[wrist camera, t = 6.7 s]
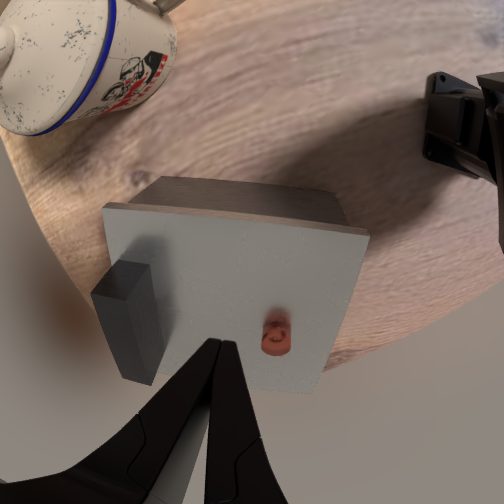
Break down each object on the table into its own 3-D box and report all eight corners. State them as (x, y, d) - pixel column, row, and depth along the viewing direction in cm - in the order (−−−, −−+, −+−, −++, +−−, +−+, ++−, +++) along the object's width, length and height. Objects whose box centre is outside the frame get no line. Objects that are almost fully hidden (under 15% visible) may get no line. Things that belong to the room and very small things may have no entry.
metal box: (334, 192, 19) (352, 233, 14) (304, 322, 25) (306, 377, 20) (161, 176, 19) (120, 208, 14) (172, 305, 26) (149, 354, 20)
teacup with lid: (103, 136, 18) (-21, 193, 8) (60, 50, 14) (-60, 61, 4) (247, 47, 14) (191, -18, 4) (188, -44, 11) (104, -125, 1)
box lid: (366, 228, 13) (388, 274, 10) (311, 385, 20) (312, 429, 17) (109, 201, 14) (67, 235, 10) (144, 360, 20) (127, 398, 17)
